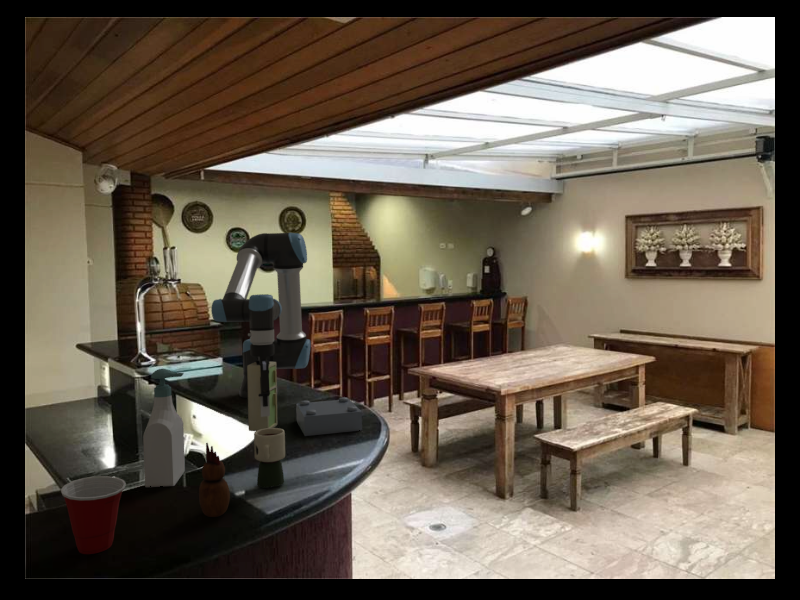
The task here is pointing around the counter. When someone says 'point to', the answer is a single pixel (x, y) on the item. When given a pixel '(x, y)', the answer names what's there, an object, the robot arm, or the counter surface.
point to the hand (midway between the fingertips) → (263, 412)
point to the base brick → (328, 416)
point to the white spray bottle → (163, 437)
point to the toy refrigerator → (254, 400)
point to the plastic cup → (93, 511)
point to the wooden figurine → (213, 486)
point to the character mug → (269, 456)
